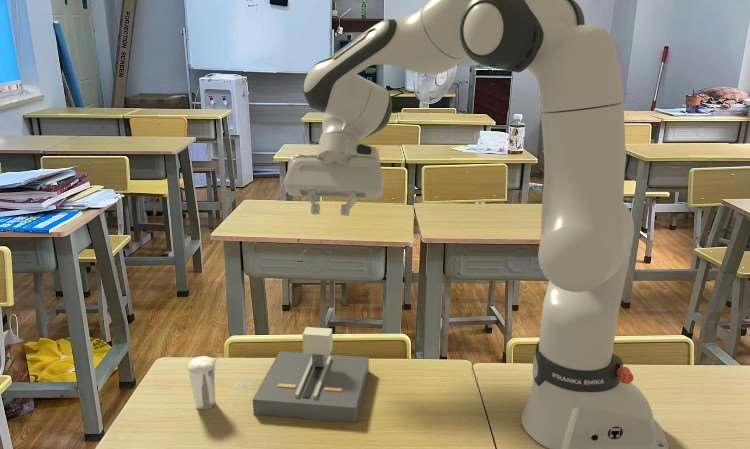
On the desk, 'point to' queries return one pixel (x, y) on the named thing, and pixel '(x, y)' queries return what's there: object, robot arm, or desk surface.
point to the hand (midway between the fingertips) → (329, 213)
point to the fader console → (313, 387)
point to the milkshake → (203, 381)
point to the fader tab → (317, 344)
